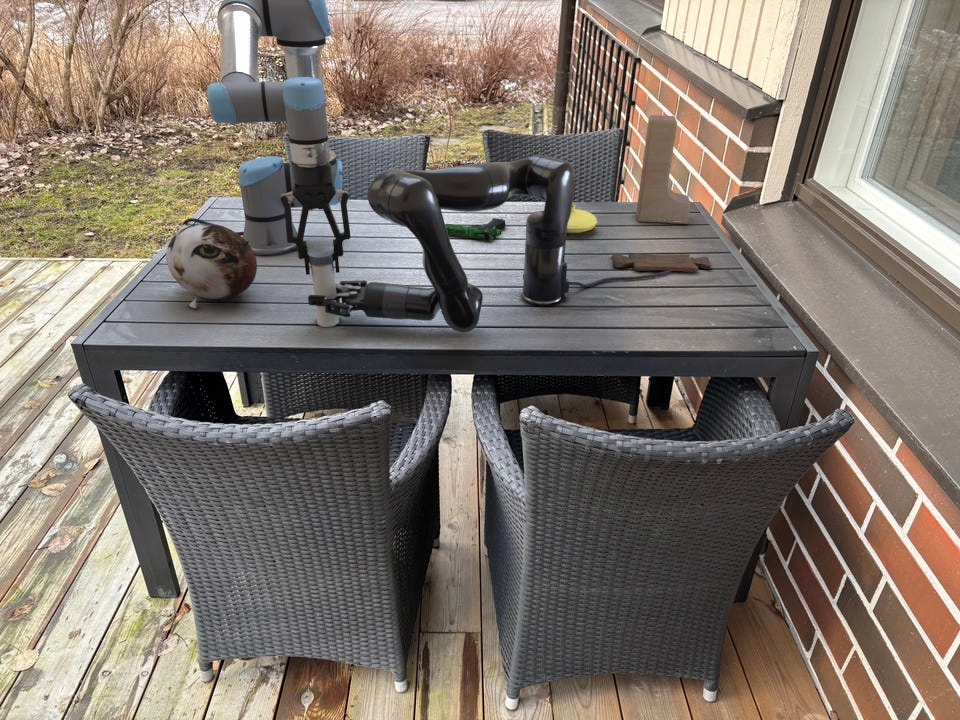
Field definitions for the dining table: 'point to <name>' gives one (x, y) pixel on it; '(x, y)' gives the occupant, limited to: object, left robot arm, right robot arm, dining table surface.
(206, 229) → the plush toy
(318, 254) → the lid
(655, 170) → the decorative block
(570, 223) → the yellow rounded piece
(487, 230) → the handgun
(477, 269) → the dining table surface
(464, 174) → the right robot arm
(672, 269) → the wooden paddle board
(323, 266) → the jar
